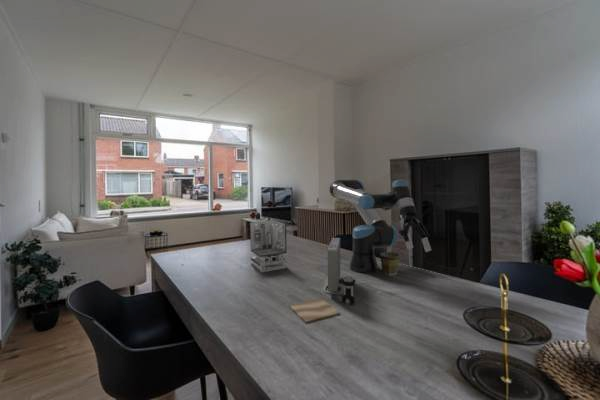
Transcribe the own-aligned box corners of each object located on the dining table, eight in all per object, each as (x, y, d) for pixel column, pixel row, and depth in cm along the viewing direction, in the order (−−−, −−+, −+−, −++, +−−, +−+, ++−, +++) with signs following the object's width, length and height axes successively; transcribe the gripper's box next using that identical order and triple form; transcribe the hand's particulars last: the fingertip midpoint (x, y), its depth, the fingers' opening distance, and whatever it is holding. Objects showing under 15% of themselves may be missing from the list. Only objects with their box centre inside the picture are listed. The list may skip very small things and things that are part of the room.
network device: (342, 298, 114) (342, 250, 113) (321, 296, 116) (320, 249, 114) (344, 276, 139) (344, 237, 138) (327, 276, 141) (327, 237, 139)
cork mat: (289, 306, 107) (289, 305, 107) (320, 299, 113) (320, 298, 113) (305, 323, 94) (305, 321, 94) (340, 314, 100) (340, 312, 100)
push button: (336, 303, 109) (336, 278, 108) (341, 298, 114) (340, 274, 113) (353, 306, 106) (353, 281, 105) (357, 301, 111) (356, 276, 110)
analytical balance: (276, 261, 169) (275, 220, 167) (289, 269, 152) (288, 224, 150) (251, 265, 161) (249, 222, 160) (262, 274, 145) (261, 227, 143)
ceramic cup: (402, 276, 138) (403, 257, 137) (382, 277, 138) (382, 257, 137) (394, 268, 151) (394, 250, 150) (376, 268, 151) (376, 250, 150)
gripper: (396, 200, 128) (409, 244, 118) (428, 209, 141) (442, 249, 131) (384, 207, 133) (395, 249, 123) (416, 215, 146) (428, 254, 136)
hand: (419, 249), depth 127 cm, fingers open, 13 cm apart
